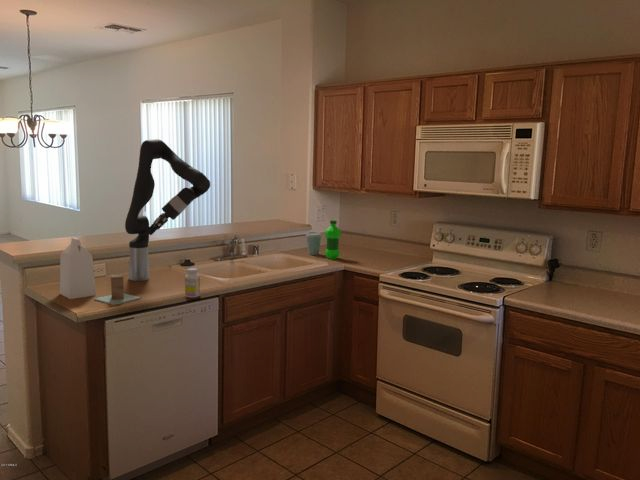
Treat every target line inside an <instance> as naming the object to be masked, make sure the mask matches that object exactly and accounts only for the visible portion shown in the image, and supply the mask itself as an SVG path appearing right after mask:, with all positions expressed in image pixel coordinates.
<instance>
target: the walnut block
mask: <svg viewBox="0 0 640 480" xmlns="http://www.w3.org/2000/svg"><path fill="white" fill-rule="evenodd" d="M110 287H111V288H110V291H111V295H112V300H117V299H124V293H125V292H124V289H125V288H124V274H114V275H113V274H111V275H110Z"/></svg>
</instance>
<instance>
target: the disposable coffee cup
mask: <svg viewBox="0 0 640 480" xmlns="http://www.w3.org/2000/svg"><path fill="white" fill-rule="evenodd" d="M305 238H306V244H307V251H308V254H309V256H317V255H319V252H320V247H321V240H322V234H321V232H318V231H308V232H306V234H305Z"/></svg>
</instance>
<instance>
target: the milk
mask: <svg viewBox="0 0 640 480" xmlns="http://www.w3.org/2000/svg"><path fill="white" fill-rule="evenodd" d="M70 242H71V243H70V244H69V245H68V246H67V247H65V249H63V251H62V252H61V253H60V256H59V257H60V259H59V260H60V261H59V262H60V263H59V265H60V266H59V268H60V269H59V270H60V271H59V282H60V283H59V294H60V295H62V296H63V297H65V298H67V299H69V300H72V299H80V298H85V297H92V296H96V293H97V292H96V282H95V271H94V270H95V269H94V260H93V259H94V258H93V257H94V256H93V255H92V253H91V252H90V251H88V250H87V247H85V246H84V245H83V244H82V243H81V239H79V238H77V237H71V241H70Z"/></svg>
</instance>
